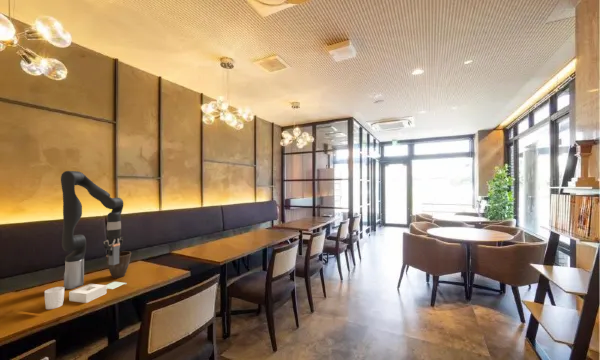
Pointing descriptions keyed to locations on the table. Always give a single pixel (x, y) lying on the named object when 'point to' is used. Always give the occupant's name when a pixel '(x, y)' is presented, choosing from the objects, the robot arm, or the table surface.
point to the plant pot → (119, 265)
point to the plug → (114, 255)
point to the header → (87, 293)
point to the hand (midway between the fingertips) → (113, 254)
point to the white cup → (54, 297)
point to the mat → (114, 285)
